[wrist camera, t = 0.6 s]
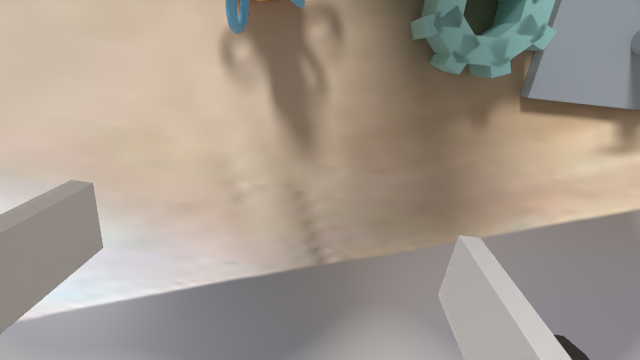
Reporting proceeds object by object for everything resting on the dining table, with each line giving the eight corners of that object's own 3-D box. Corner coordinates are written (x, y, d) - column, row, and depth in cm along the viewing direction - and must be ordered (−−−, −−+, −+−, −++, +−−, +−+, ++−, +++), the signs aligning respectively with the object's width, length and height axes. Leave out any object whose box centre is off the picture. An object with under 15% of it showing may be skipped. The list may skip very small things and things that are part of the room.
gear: (426, -65, 28) (443, -88, 23) (551, -52, 28) (593, -73, 23) (401, 67, 32) (412, 69, 27) (509, 78, 32) (539, 83, 27)
